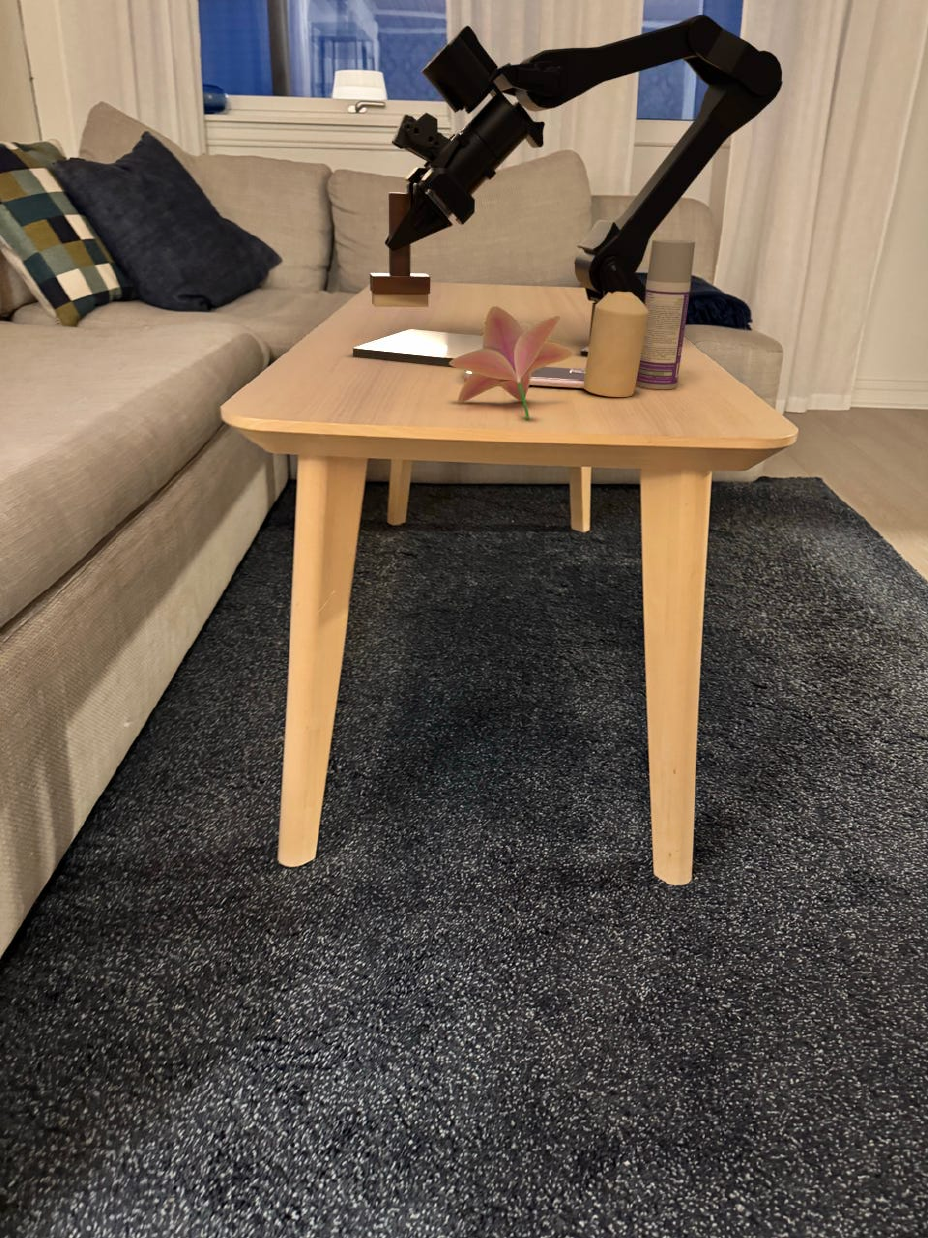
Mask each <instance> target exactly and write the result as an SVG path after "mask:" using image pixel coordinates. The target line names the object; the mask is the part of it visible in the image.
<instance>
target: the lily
mask: <svg viewBox="0 0 928 1238" xmlns="http://www.w3.org/2000/svg"><path fill="white" fill-rule="evenodd" d="M560 320H561V316H560V315H557V316H556V315H555V316H553V317H549V318H548V319H545V320H543V321H541V322H539V323H537V324H535V325H533V326H531V327H530V328H528V329H526V330H524V328H523V327H522V325H521V324H520V322H519V321H518V320H516V319H515V317H514V316H512V315H511V314H510V313H508V312H507V311H506V310H505V309H504V308H501V307H500V306H492V307H491V308H490V309H489V311H488V313H487V315H486V318H485V321H484V326H483V330H482V336H483V338H482V343H483V349H482V350H477V351H473V352H470V353H467V354H464V355H462V356H460V357H457V358H455V359H453V360H451V361H450V362H449V364H450V365H451V366H454V367H453V368H457V369H459V370H463V371H465V372H466V371H469V372H472V373H471V374H470V375H469V377H468V378H467V380H466V379H465V381H464V383H463V385H462V387H461V389H460V392H459V395H458V398H457V402H458V403H459V404H462V403H465V402H467V401H469V400H471V399H473V398H475V397H477V396H479V395H481V394H483V393H485V392H487V391H489V390H492V389H495V388H497V387H499V386H500V387H501V388H502V389H503V390H504V391H505V392H506V393H508V394H509V395H510V396H512V397H513V398H514V399H516V400H518V401H520V402H522V406H523V409H524V410H523V411H524V415H525V418H526V420H530V414H529V410H528V406H527V402H526V397H527V394H528V390H529V387H530V385H529V383H530V378H531V372H533V371H535V370H537V369H540V368H542V367H549V366H551V365H553V364H556V363H559V362H564V361H565V360H568V359H570V358H572V357H573V356H574V354H573V352H572V351H571V350H570V349H568V348H566V347H564V346H562V345H560V344H557V343H555V342H551V341H549V338H550V336H551V335H552V333H553V331H554V330H555V328H556V327H557V325H558V323H559V321H560Z"/></svg>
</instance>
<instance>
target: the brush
mask: <svg viewBox="0 0 928 1238" xmlns="http://www.w3.org/2000/svg"><path fill="white" fill-rule="evenodd" d="M410 208H411V193H407V192H388V235H389V240H390V239H391V237H392V235H393V234H394V232H395V231H396V229H397V228H398V226H399V225H400V223H401V222H402V220H403V219H404V217H405V216H406V214H407V212H408V211H409V209H410ZM411 252H412V243H411V244H409V245H407V246H405V247H402V248H400V249H398V250H396V251H392V250H391V249H390V248H388V272H370V273H369V291H370V292H371V304H372V305H373V307H389V308H391V307H396V308H397V307H398V308H401V307H402V308H403V307H405V308H407V307H408V308H409V307H410V308H412V307H413V308H415V307H417V308H428V307H429V295H431V276H430V275H429V274H427V273H411V271H412V270H411V269H412V264H411V263H412V258H411V257H412V255H411V254H412V253H411Z"/></svg>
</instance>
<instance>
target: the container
mask: <svg viewBox="0 0 928 1238" xmlns="http://www.w3.org/2000/svg"><path fill="white" fill-rule="evenodd" d="M650 248H651V249H650V254H649V255H650V256H649V261H648V262H649V264H648V270H647V278H646V282H645V283H646V284H645V287H646V290H645V299H644V305H645V306H646V308H647V309H648V311H649V314H648V319H647V325H646V330H645V336H644V342H643V347H642V353H641V358H640V364H639V369H638V375H637V380H636V386H637V387H640V388H644V389H649V390H650V389H651V390H673V389H676V388H677V387H678V381H679V374H680V367H681V360H682V353H683V344H684V337H685V330H686V322H687V315H688V308H689V300H690V293H691V283H692V274H693V265H694V257H695V249H696V242H695V241H693V240H683V239H666V238H665V239H662V238H660V239H659V238H657V239H652V241H651V247H650Z"/></svg>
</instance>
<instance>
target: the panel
mask: <svg viewBox="0 0 928 1238" xmlns="http://www.w3.org/2000/svg"><path fill="white" fill-rule="evenodd" d="M482 338H483V335H478V334H469V333H468V334H467V333H457V332H446V331H434V330H424V329H413V328H410V329H407V330H403V331H400V332H398V333H394V334H391V335H389V336H386V337H385V336H384V337H382V338H380V339H376V340H373V341H370V342H367V343H364V344H360V345H358V346H355V347H352V357H357V358H366V359H377V360H383V361H395V362H403V363H412V364H413V363H414V364H422V365H423V364H424V365H431V366H442V367H451V368H455V367H454V366H451V365H450V364H449V362H450V361H451V360H453V359H455V358H457V357H460V356H462V355H464V354H467V353H470V352H473V351H477V350H482V349H483V343H482Z"/></svg>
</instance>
